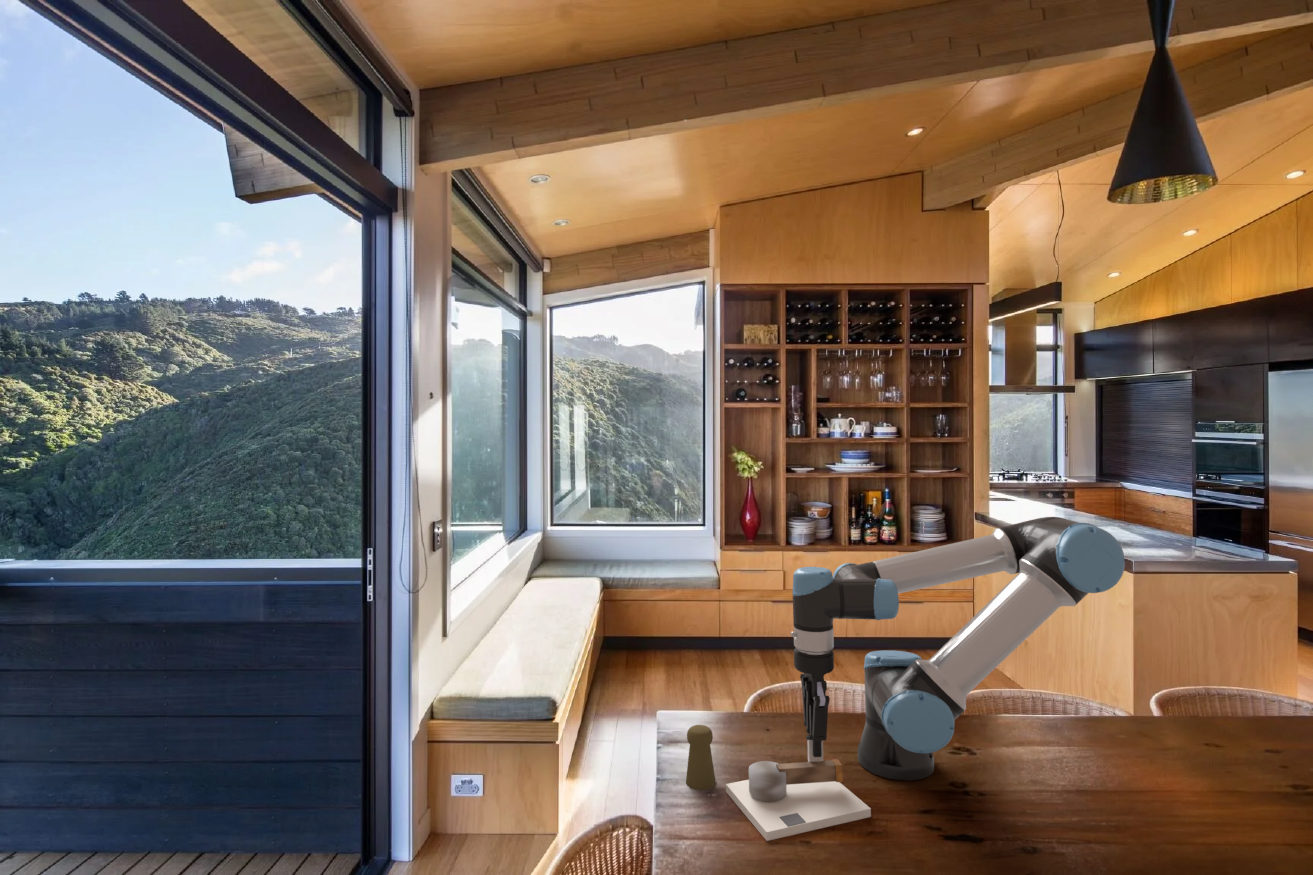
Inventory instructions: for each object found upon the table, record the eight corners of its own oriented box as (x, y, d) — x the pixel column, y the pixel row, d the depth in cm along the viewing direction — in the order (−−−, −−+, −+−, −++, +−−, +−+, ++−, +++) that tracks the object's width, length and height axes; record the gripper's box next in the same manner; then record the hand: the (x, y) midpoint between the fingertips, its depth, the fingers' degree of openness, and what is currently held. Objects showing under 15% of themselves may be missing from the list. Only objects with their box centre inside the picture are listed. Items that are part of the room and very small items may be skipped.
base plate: (819, 772, 137) (819, 764, 137) (870, 816, 121) (870, 807, 121) (725, 791, 130) (725, 783, 130) (766, 840, 114) (766, 831, 114)
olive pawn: (714, 791, 131) (712, 734, 131) (683, 788, 132) (682, 732, 132) (717, 775, 136) (716, 721, 136) (688, 773, 138) (687, 720, 138)
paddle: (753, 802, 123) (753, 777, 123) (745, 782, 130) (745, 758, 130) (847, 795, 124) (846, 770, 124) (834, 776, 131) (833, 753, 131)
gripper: (787, 638, 135) (789, 754, 135) (801, 660, 122) (804, 788, 122) (823, 637, 135) (826, 753, 136) (842, 659, 122) (844, 787, 123)
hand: (815, 770), depth 129 cm, fingers closed
